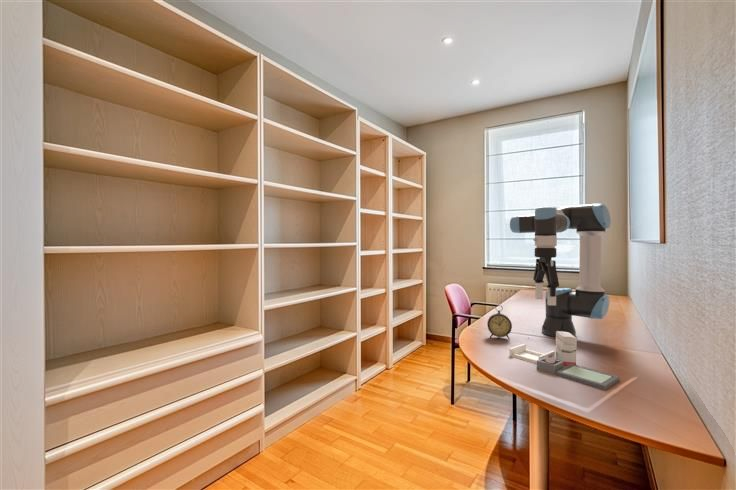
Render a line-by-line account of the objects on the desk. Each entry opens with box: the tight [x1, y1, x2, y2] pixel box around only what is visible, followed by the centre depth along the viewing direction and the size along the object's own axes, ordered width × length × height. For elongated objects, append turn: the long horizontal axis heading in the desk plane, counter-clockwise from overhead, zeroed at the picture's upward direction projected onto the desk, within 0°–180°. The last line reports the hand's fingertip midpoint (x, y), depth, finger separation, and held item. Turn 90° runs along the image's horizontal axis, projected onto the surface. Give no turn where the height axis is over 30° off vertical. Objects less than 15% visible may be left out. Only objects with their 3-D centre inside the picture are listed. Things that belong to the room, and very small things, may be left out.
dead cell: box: [545, 355, 556, 365], centre depth 124 cm, size 3×3×5 cm
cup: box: [536, 357, 565, 375], centre depth 124 cm, size 6×6×4 cm
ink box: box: [554, 331, 578, 367], centre depth 131 cm, size 9×5×12 cm, turn 168°
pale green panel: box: [562, 366, 612, 384], centre depth 116 cm, size 9×12×1 cm
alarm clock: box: [486, 304, 513, 340], centre depth 167 cm, size 11×5×16 cm, turn 73°
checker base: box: [554, 364, 620, 391], centre depth 116 cm, size 12×15×2 cm
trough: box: [509, 343, 555, 365], centre depth 136 cm, size 11×13×4 cm
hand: (545, 302), depth 132 cm, fingers open, 13 cm apart
